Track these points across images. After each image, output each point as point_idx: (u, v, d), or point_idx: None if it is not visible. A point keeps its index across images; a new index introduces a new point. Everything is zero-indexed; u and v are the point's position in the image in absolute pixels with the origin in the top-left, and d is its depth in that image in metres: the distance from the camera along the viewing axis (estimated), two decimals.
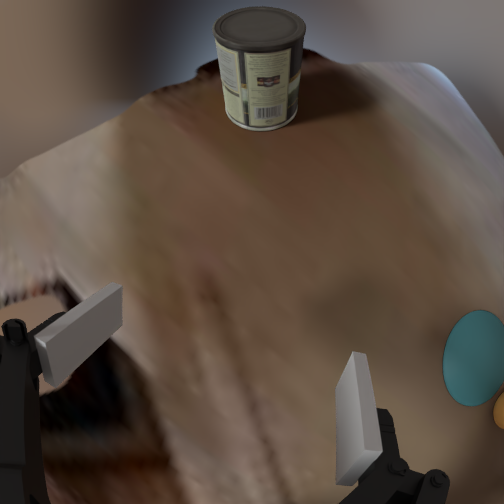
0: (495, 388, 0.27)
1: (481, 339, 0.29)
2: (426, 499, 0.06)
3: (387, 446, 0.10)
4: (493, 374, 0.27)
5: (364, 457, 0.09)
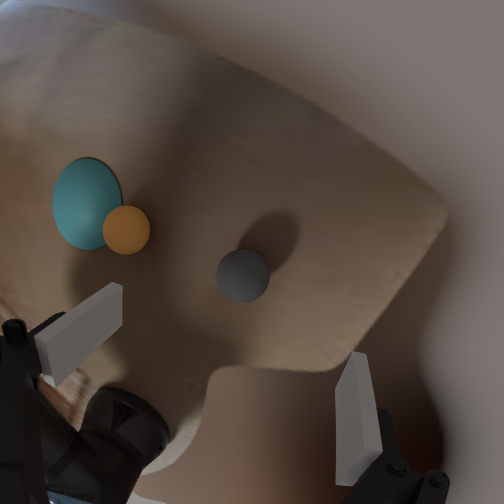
0: None
1: (75, 190, 0.35)
2: (426, 499, 0.06)
3: (387, 446, 0.10)
4: (105, 206, 0.35)
5: (364, 457, 0.09)
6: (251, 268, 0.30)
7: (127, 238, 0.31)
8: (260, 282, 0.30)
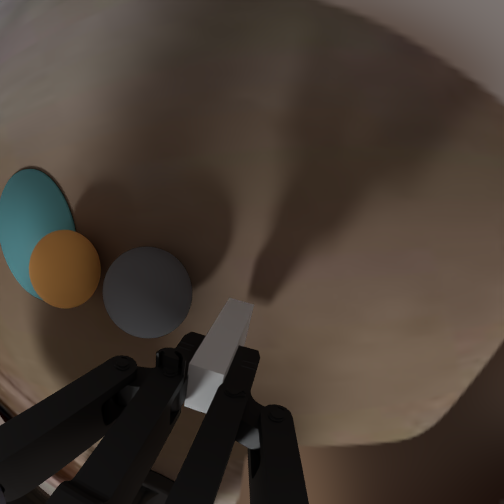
0: None
1: (19, 217, 0.22)
2: (273, 437, 0.09)
3: (241, 378, 0.13)
4: None
5: (209, 379, 0.12)
6: None
7: (39, 283, 0.16)
8: None
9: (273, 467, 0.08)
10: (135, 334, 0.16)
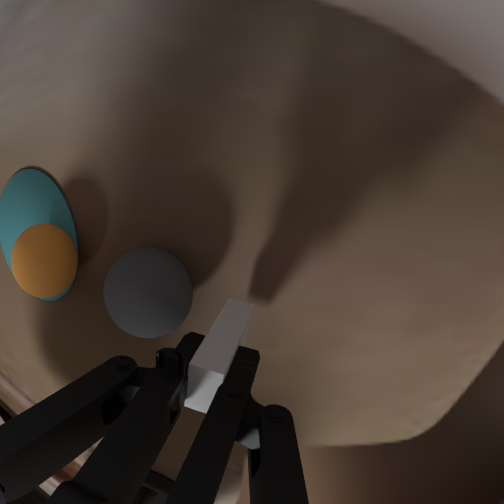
0: None
1: (19, 217, 0.22)
2: (273, 437, 0.09)
3: (241, 378, 0.13)
4: None
5: (209, 379, 0.12)
6: None
7: None
8: None
9: (273, 467, 0.08)
10: (135, 334, 0.16)
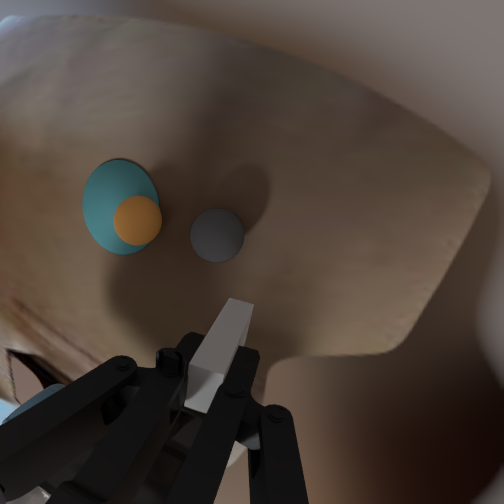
0: None
1: (106, 194, 0.35)
2: (273, 437, 0.09)
3: (241, 378, 0.13)
4: None
5: (209, 379, 0.12)
6: None
7: (114, 220, 0.31)
8: None
9: (273, 467, 0.08)
10: (212, 257, 0.30)
